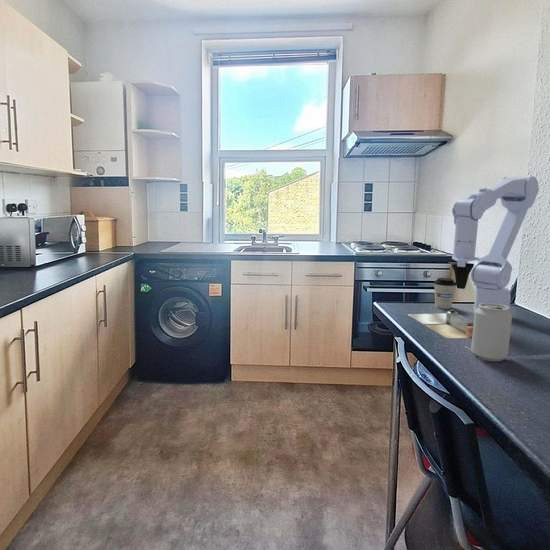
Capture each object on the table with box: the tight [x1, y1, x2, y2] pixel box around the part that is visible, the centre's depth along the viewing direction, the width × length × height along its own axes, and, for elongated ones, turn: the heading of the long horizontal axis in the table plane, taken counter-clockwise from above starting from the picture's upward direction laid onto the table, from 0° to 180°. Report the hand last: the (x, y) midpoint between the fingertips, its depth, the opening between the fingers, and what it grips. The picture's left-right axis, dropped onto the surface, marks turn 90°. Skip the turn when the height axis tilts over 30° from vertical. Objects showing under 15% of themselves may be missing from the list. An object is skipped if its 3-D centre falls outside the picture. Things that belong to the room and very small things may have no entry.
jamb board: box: [406, 309, 473, 340], centre depth 121 cm, size 15×23×5 cm, turn 8°
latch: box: [446, 310, 474, 333], centre depth 117 cm, size 11×3×3 cm, turn 8°
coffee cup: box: [433, 277, 457, 310], centre depth 140 cm, size 7×7×10 cm
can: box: [470, 303, 513, 362], centre depth 98 cm, size 8×8×12 cm
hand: (460, 288), depth 125 cm, fingers closed
